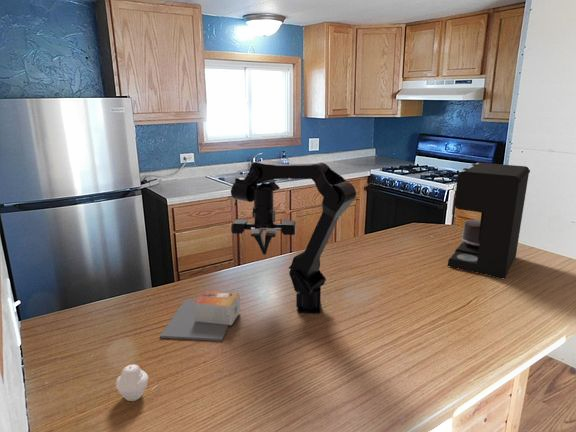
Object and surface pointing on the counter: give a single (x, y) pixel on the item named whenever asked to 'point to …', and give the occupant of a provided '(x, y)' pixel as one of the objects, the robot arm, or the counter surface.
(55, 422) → the counter surface
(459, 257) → the coffee maker
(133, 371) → the muffin
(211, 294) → the small box
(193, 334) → the mat
